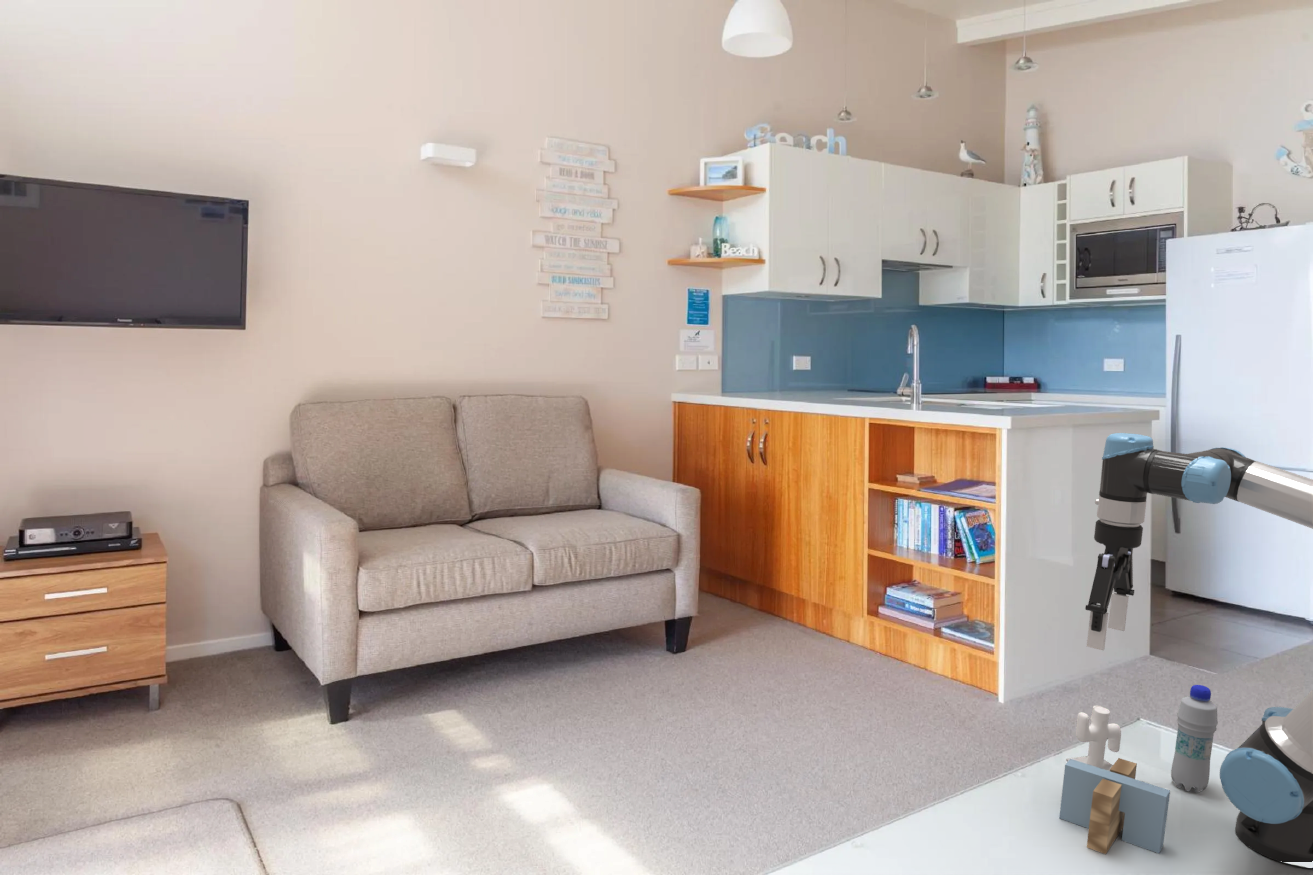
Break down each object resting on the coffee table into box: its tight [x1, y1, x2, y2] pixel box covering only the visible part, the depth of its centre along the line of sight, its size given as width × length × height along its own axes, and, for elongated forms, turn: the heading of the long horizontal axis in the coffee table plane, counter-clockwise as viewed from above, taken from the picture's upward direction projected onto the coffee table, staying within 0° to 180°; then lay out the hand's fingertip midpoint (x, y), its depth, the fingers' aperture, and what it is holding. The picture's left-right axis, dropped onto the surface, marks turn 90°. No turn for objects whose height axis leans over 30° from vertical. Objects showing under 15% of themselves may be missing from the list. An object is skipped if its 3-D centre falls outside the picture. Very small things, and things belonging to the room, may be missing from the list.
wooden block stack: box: [1086, 757, 1138, 855], centre depth 167 cm, size 3×16×10 cm, turn 141°
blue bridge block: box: [1058, 759, 1171, 854], centre depth 167 cm, size 16×3×10 cm, turn 51°
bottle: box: [1170, 684, 1218, 793], centre depth 183 cm, size 7×7×20 cm
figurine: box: [1065, 705, 1122, 771], centre depth 183 cm, size 7×9×15 cm
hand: (1106, 638), depth 174 cm, fingers open, 13 cm apart
